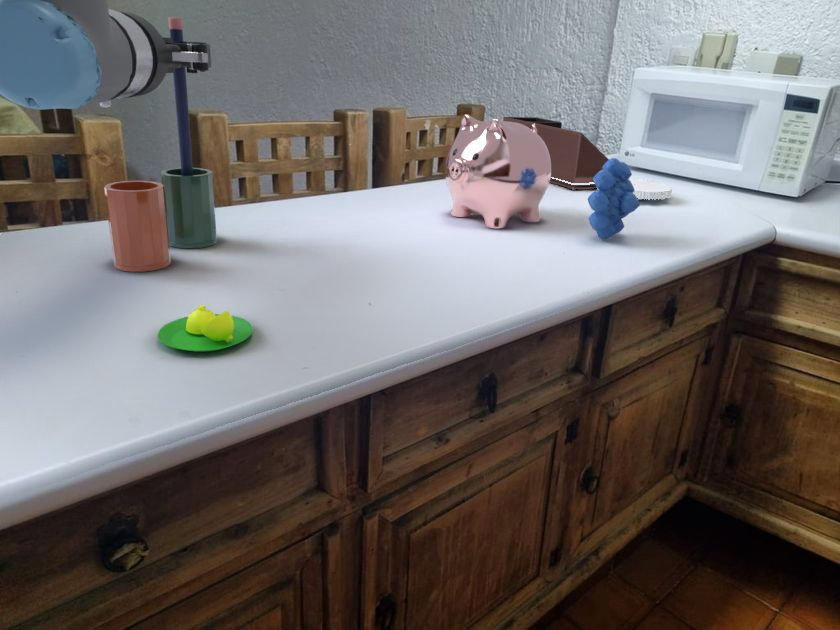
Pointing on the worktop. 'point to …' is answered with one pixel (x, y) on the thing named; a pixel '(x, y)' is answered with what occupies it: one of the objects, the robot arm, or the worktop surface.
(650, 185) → the plastic lid
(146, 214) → the terracotta cup
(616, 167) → the blue lumpy block
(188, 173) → the pencil
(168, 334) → the lemons on green plate
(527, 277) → the worktop surface
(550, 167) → the piggy bank
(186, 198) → the green cup
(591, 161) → the desk organizer
